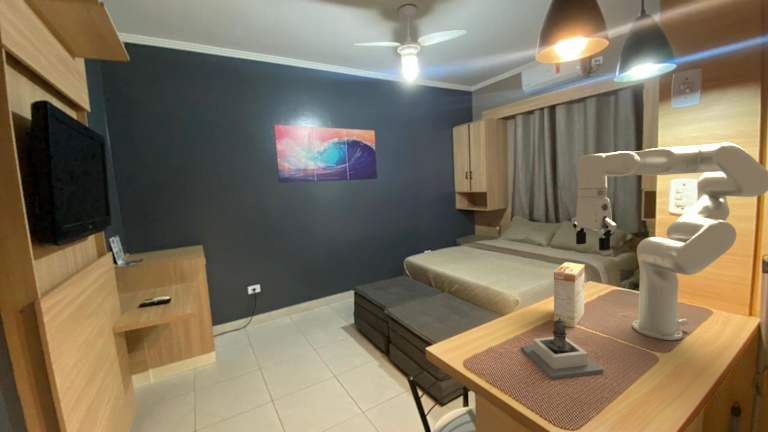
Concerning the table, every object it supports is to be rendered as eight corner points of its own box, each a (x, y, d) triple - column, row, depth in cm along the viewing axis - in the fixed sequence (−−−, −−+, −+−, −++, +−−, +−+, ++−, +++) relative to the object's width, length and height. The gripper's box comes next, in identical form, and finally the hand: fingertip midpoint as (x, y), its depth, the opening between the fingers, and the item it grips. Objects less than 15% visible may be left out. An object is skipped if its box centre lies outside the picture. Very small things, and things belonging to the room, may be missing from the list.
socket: (565, 344, 99) (565, 331, 99) (603, 372, 84) (603, 357, 84) (520, 349, 98) (520, 335, 97) (551, 379, 83) (551, 363, 82)
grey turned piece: (574, 363, 87) (574, 322, 86) (551, 362, 89) (551, 322, 87) (566, 352, 93) (567, 313, 92) (545, 351, 94) (545, 313, 93)
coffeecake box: (564, 309, 124) (564, 261, 122) (585, 313, 120) (585, 264, 117) (552, 322, 114) (552, 271, 112) (575, 328, 109) (575, 274, 107)
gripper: (627, 193, 90) (626, 251, 92) (583, 192, 107) (583, 241, 109) (603, 195, 89) (603, 254, 91) (562, 193, 106) (563, 242, 108)
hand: (592, 246), depth 100 cm, fingers open, 9 cm apart
